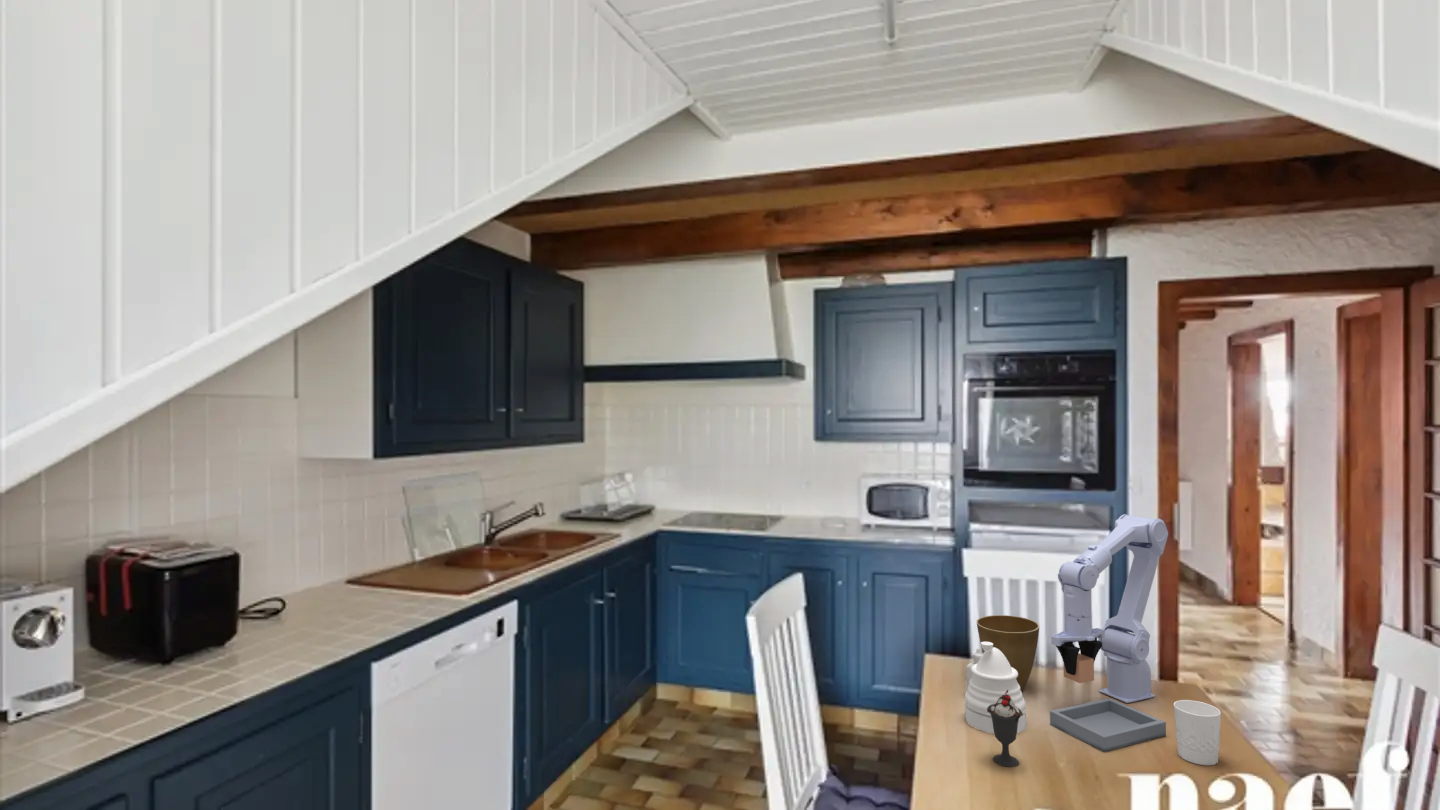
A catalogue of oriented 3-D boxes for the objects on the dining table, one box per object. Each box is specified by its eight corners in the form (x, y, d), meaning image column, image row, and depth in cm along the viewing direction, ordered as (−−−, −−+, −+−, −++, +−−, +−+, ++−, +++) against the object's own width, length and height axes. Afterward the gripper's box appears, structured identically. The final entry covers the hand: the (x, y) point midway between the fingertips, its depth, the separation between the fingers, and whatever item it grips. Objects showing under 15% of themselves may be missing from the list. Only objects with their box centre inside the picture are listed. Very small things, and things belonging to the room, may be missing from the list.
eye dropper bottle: (977, 692, 178) (976, 643, 179) (994, 700, 173) (993, 650, 173) (964, 695, 177) (963, 646, 177) (981, 703, 171) (980, 653, 172)
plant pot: (1008, 671, 192) (1007, 611, 192) (1054, 691, 178) (1052, 626, 178) (965, 680, 186) (963, 619, 186) (1008, 701, 172) (1007, 635, 172)
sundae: (1008, 772, 139) (1006, 695, 139) (981, 758, 145) (979, 683, 145) (1031, 764, 142) (1029, 688, 142) (1003, 750, 148) (1002, 677, 148)
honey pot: (995, 739, 153) (993, 655, 153) (953, 716, 165) (951, 638, 165) (1039, 727, 158) (1037, 646, 158) (995, 706, 170) (994, 630, 170)
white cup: (1214, 751, 146) (1213, 702, 146) (1227, 770, 139) (1226, 718, 139) (1170, 746, 149) (1169, 698, 149) (1180, 764, 141) (1179, 713, 141)
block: (1078, 673, 171) (1077, 652, 171) (1094, 680, 167) (1093, 658, 167) (1063, 676, 169) (1063, 655, 169) (1079, 683, 165) (1079, 661, 165)
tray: (1109, 710, 166) (1108, 697, 166) (1166, 735, 153) (1165, 722, 153) (1050, 724, 160) (1049, 711, 160) (1104, 752, 147) (1104, 737, 147)
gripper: (1068, 622, 162) (1069, 682, 162) (1115, 615, 167) (1116, 673, 167) (1043, 614, 168) (1044, 672, 168) (1090, 607, 173) (1091, 663, 173)
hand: (1079, 672), depth 168 cm, fingers closed on block, 4 cm apart
